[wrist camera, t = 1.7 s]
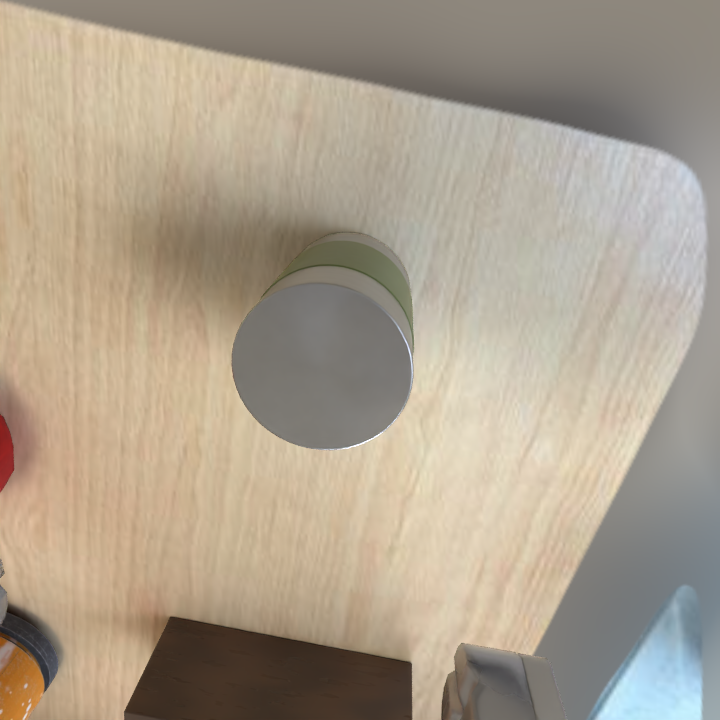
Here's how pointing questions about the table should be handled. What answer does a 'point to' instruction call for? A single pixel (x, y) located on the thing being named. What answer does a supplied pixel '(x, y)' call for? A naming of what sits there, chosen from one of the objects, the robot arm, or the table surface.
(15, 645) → the canister
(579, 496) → the table surface
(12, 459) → the apple
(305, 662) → the brown wooden block
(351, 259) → the can
